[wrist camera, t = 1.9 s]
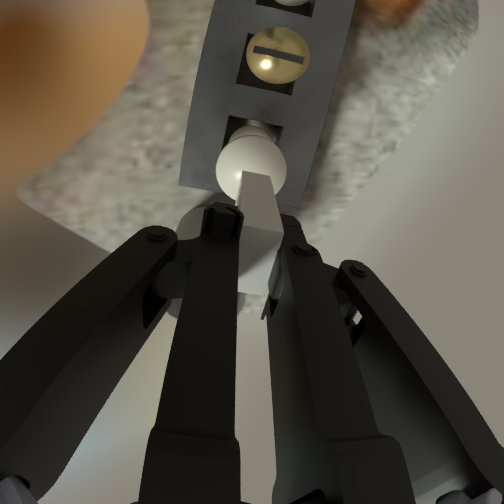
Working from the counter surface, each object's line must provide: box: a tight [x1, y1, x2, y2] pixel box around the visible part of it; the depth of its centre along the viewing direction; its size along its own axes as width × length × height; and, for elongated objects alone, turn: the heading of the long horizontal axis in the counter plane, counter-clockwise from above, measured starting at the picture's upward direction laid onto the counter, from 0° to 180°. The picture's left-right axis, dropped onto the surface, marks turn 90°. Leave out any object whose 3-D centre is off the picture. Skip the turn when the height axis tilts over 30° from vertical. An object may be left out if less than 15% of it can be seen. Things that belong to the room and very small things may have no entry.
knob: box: [216, 126, 287, 200], centre depth 22 cm, size 5×5×8 cm
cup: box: [166, 205, 247, 320], centre depth 30 cm, size 8×8×10 cm
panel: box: [178, 0, 356, 208], centre depth 23 cm, size 26×12×3 cm, turn 168°
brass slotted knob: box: [246, 27, 310, 84], centre depth 18 cm, size 4×4×8 cm
